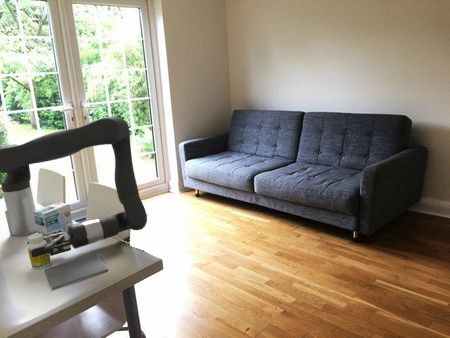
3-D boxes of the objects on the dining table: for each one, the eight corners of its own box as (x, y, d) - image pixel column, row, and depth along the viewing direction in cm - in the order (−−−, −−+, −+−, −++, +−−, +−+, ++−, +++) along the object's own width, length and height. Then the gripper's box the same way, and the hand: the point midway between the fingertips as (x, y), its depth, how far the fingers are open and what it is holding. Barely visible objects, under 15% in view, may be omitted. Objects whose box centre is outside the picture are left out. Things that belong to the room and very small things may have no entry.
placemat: (52, 290, 100) (51, 288, 99) (44, 271, 110) (43, 269, 110) (107, 270, 108) (107, 268, 107) (95, 254, 118) (95, 253, 118)
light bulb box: (49, 242, 131) (43, 213, 128) (38, 239, 134) (31, 211, 131) (75, 230, 139) (69, 203, 137) (64, 227, 143) (58, 201, 140)
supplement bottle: (43, 269, 111) (36, 240, 109) (27, 269, 112) (21, 239, 110) (54, 261, 116) (48, 232, 114) (39, 260, 117) (33, 232, 115)
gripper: (78, 216, 125) (24, 230, 116) (89, 229, 113) (30, 246, 105) (82, 237, 127) (29, 252, 118) (94, 251, 115) (35, 269, 107)
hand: (29, 249), depth 112 cm, fingers open, 7 cm apart
